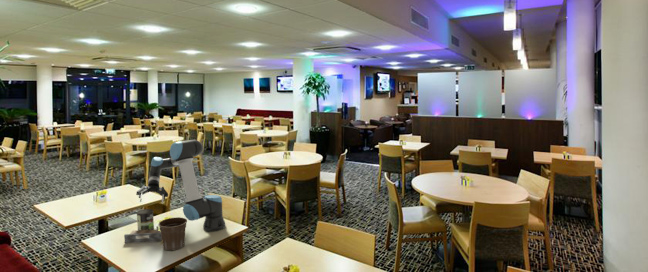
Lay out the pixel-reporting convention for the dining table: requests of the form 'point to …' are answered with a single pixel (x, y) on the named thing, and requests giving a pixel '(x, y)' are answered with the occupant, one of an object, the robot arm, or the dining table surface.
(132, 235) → the display shelf
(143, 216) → the coffee can
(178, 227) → the plant pot
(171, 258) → the dining table surface
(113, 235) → the dining table surface
